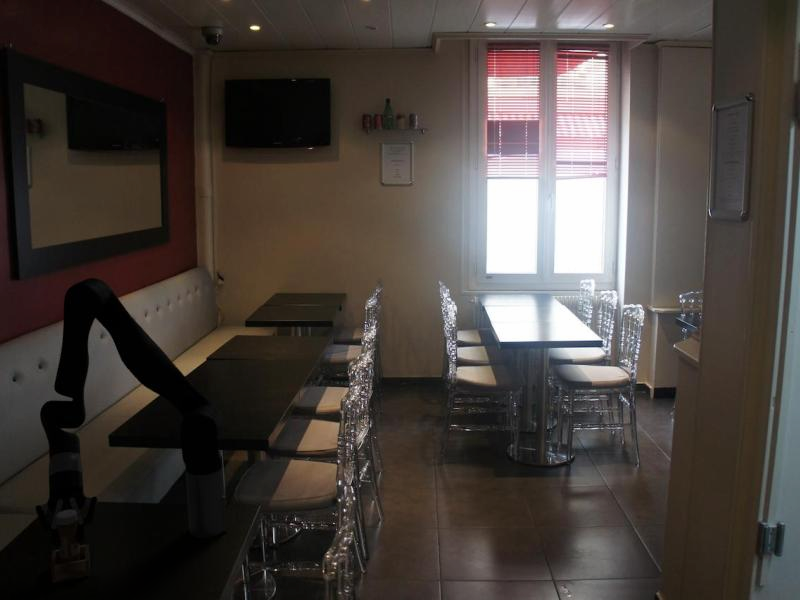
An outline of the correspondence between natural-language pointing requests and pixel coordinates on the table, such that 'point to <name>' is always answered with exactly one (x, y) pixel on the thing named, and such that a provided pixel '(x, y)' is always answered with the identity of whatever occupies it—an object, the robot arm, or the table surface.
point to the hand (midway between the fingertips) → (68, 544)
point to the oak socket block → (70, 566)
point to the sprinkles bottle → (68, 536)
